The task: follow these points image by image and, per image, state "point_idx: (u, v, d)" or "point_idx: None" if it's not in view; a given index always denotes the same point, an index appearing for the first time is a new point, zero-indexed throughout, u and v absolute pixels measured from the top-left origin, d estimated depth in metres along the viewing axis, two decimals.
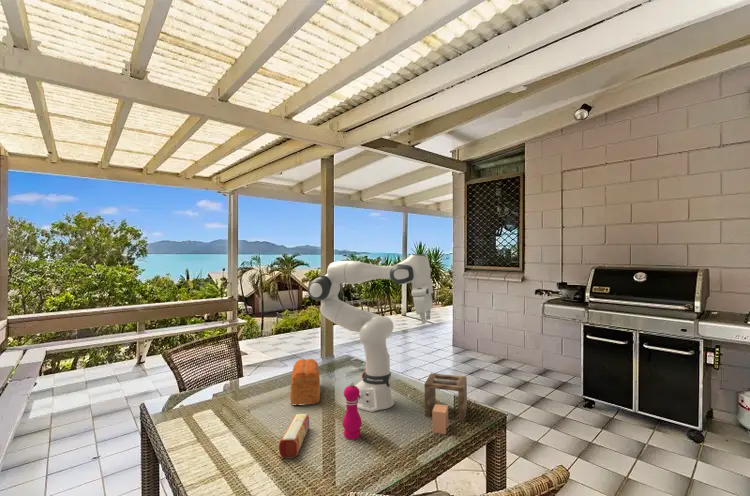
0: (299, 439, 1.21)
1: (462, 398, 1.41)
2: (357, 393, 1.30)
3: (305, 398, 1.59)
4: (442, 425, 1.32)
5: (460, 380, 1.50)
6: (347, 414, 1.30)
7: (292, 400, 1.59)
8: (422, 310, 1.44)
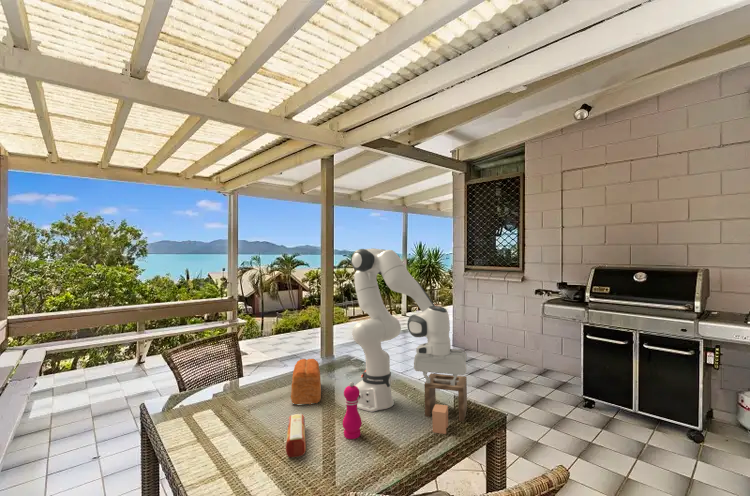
0: (304, 437, 1.22)
1: (462, 398, 1.41)
2: (357, 393, 1.30)
3: (305, 397, 1.60)
4: (442, 425, 1.32)
5: (460, 380, 1.50)
6: (347, 414, 1.30)
7: (293, 399, 1.59)
8: (414, 367, 1.38)
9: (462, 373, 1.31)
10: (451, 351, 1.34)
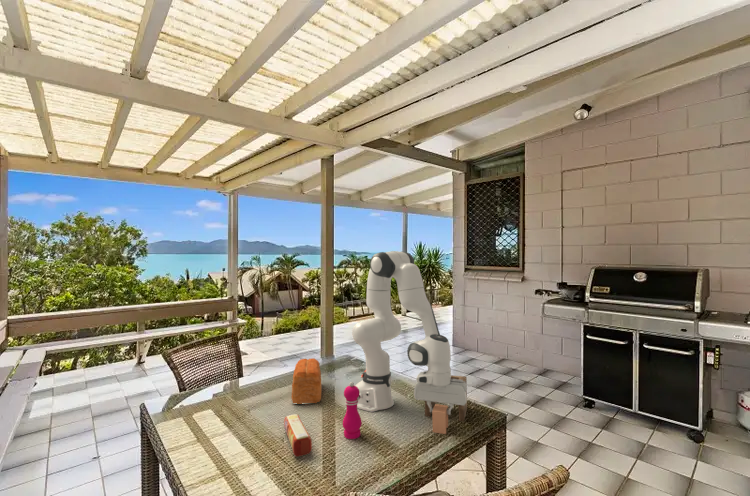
0: None
1: None
2: (357, 393, 1.30)
3: (306, 397, 1.60)
4: (442, 425, 1.32)
5: None
6: (347, 414, 1.30)
7: (293, 399, 1.60)
8: (414, 395, 1.38)
9: (462, 404, 1.31)
10: (451, 381, 1.34)
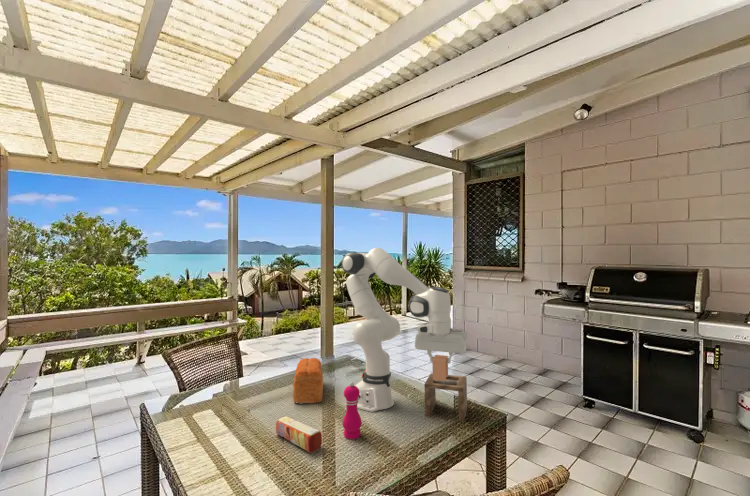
0: None
1: (462, 398, 1.41)
2: (357, 393, 1.30)
3: (307, 396, 1.61)
4: (442, 372, 1.36)
5: (460, 380, 1.50)
6: (347, 414, 1.30)
7: (295, 398, 1.61)
8: None
9: (462, 352, 1.35)
10: (451, 330, 1.38)
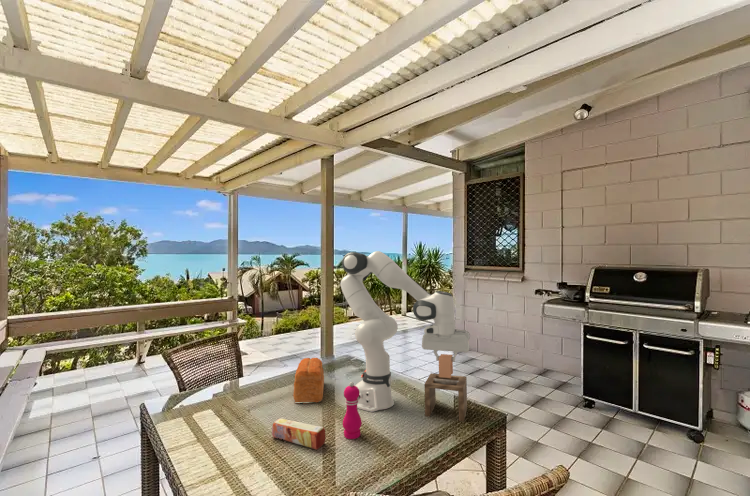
0: None
1: (462, 398, 1.41)
2: (357, 393, 1.30)
3: (307, 396, 1.61)
4: (448, 370, 1.47)
5: (460, 380, 1.50)
6: (347, 414, 1.30)
7: (295, 398, 1.61)
8: (422, 345, 1.53)
9: (465, 351, 1.46)
10: (456, 331, 1.49)
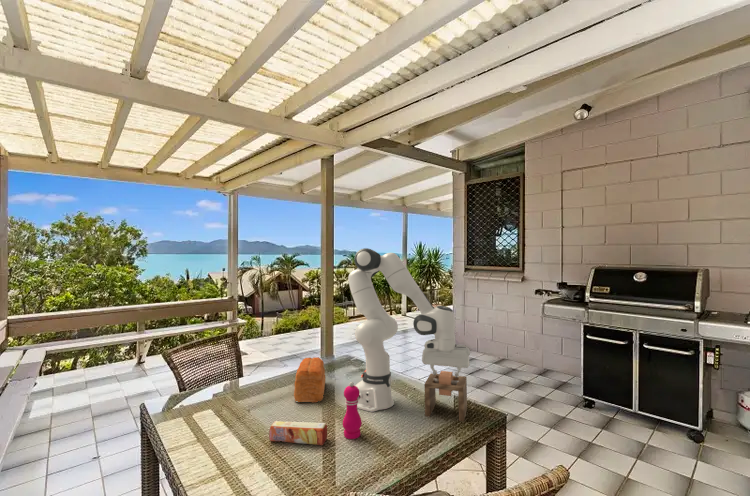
0: None
1: (462, 398, 1.41)
2: (357, 393, 1.30)
3: (308, 395, 1.62)
4: None
5: (460, 380, 1.50)
6: (347, 414, 1.30)
7: (295, 397, 1.62)
8: (422, 360, 1.53)
9: (466, 366, 1.46)
10: (456, 346, 1.49)
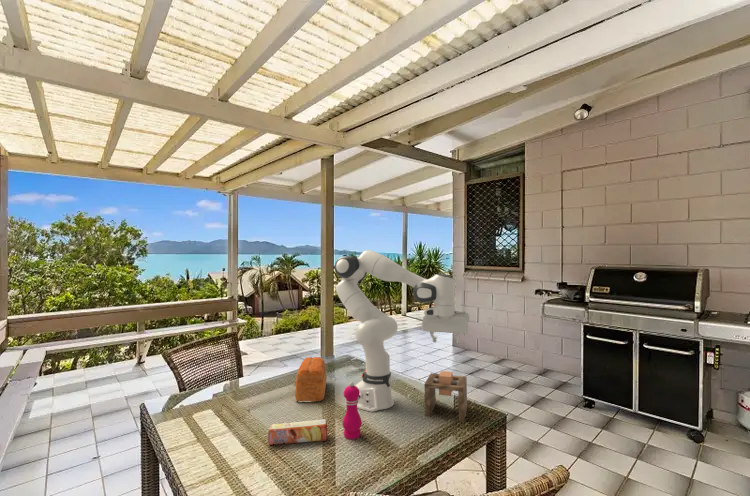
0: None
1: (462, 398, 1.41)
2: (357, 393, 1.30)
3: (309, 395, 1.62)
4: None
5: (460, 380, 1.50)
6: (347, 414, 1.30)
7: (296, 397, 1.63)
8: (422, 327, 1.55)
9: (465, 332, 1.47)
10: (455, 313, 1.50)
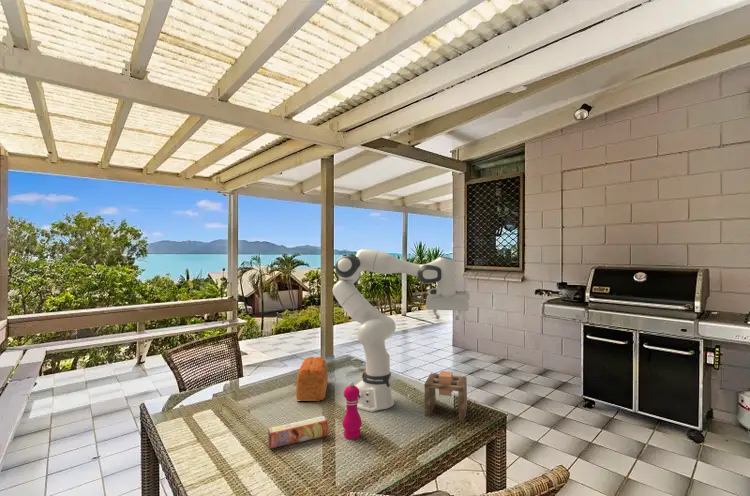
0: None
1: (462, 398, 1.41)
2: (357, 393, 1.30)
3: (309, 394, 1.63)
4: None
5: (460, 380, 1.50)
6: (347, 414, 1.30)
7: (297, 396, 1.63)
8: None
9: (465, 309, 1.61)
10: (457, 292, 1.64)
